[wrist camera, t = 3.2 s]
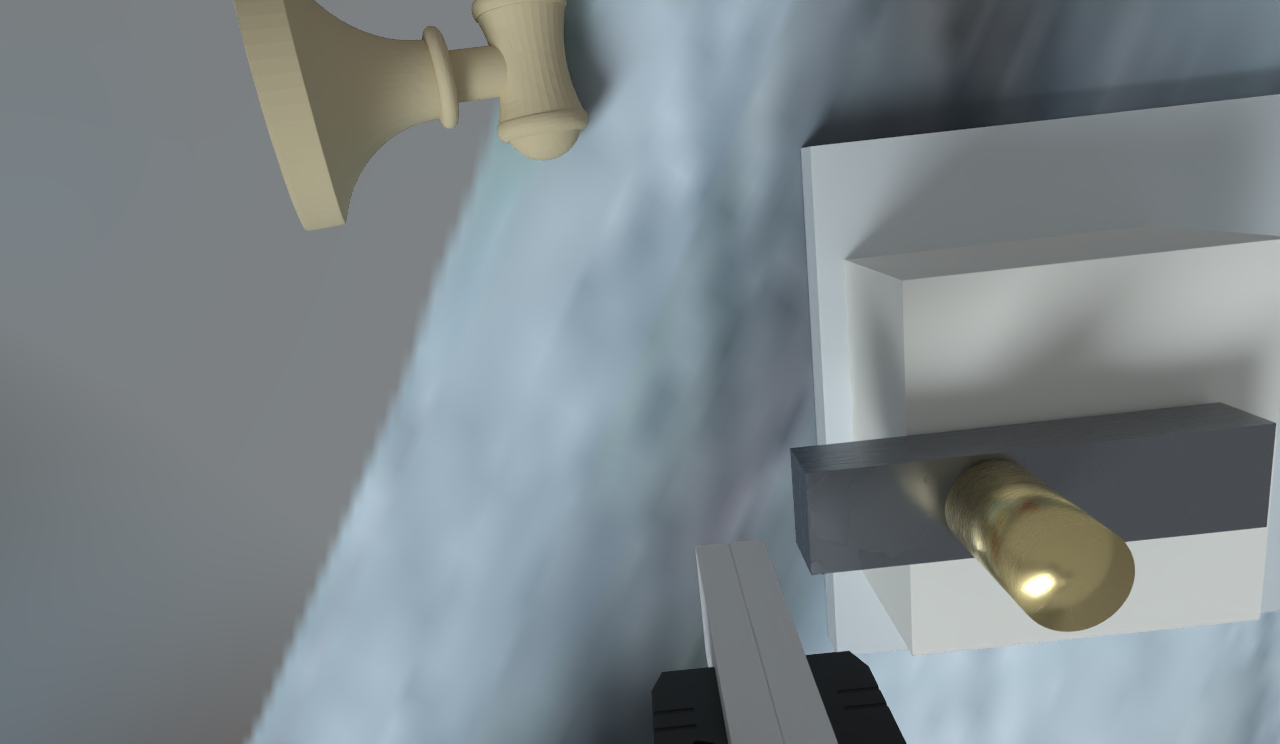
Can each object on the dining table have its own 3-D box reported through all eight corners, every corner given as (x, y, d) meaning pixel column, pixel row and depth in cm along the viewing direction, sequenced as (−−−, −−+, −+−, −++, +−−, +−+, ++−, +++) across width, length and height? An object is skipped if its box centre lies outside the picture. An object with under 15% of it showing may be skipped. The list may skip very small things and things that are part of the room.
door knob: (584, -117, 22) (633, 171, 24) (530, -29, 29) (571, 185, 31) (205, -93, 19) (295, 231, 21) (252, -3, 27) (315, 230, 28)
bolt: (1213, 498, 23) (1409, 604, 17) (796, 542, 23) (851, 662, 17) (1220, 402, 22) (1427, 479, 17) (790, 448, 23) (846, 540, 17)
